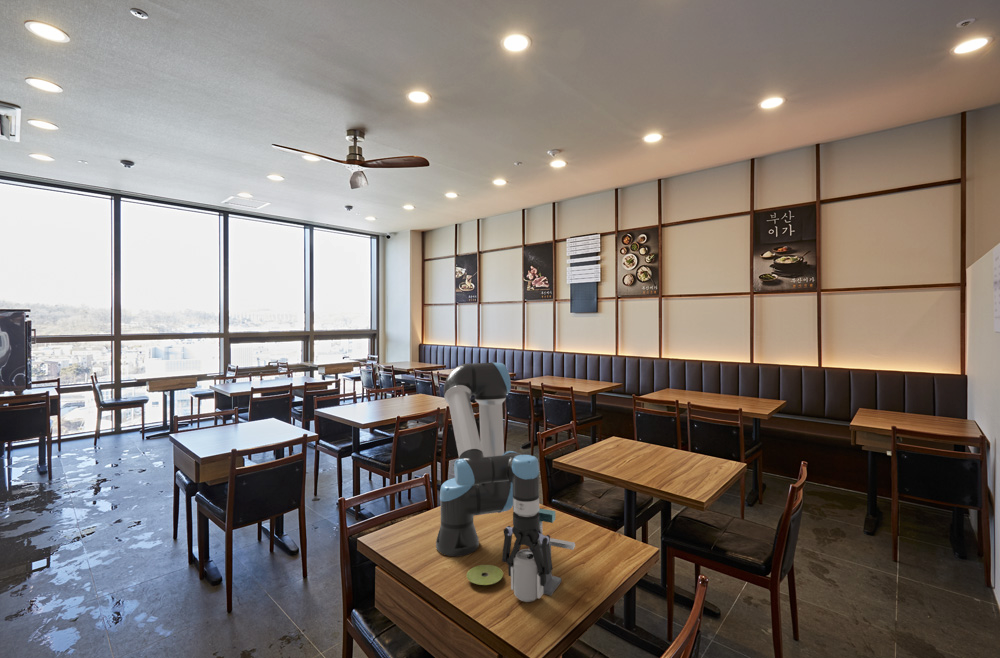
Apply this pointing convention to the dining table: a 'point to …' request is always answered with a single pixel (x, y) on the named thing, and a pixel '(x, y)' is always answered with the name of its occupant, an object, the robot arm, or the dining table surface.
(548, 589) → the grey pedestal post
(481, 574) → the mat
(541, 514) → the teal grip latch lever
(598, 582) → the dining table surface
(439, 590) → the dining table surface
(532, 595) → the can
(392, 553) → the dining table surface
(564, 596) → the dining table surface
